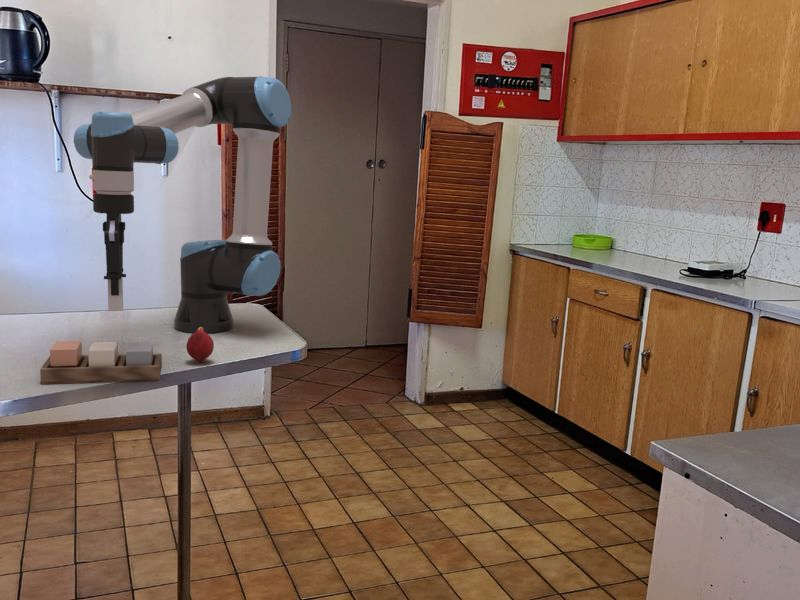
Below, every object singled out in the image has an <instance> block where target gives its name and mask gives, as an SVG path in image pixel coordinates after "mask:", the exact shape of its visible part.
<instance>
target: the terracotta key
mask: <svg viewBox="0 0 800 600" xmlns="http://www.w3.org/2000/svg"><path fill="white" fill-rule="evenodd" d="M82 355H83V344H82V340H68V341H67V340H64V341H63V340H60V341H57V340H56V341H55V342H54V344H53V345H52V346H51V348H50V349H49V357H50V364H51V366H77V365H78V363H79V361H80V359H81V358H82Z"/></svg>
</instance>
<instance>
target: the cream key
mask: <svg viewBox="0 0 800 600" xmlns="http://www.w3.org/2000/svg"><path fill="white" fill-rule="evenodd" d="M87 353H88V354H87V355H89V367H103V366H115V364H116V361H117V359H118V354H119V343H118V341H100V342H99V341H98V342H96V341H94V342H92V344H91V345H90V347H89V348H88V352H87Z"/></svg>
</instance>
